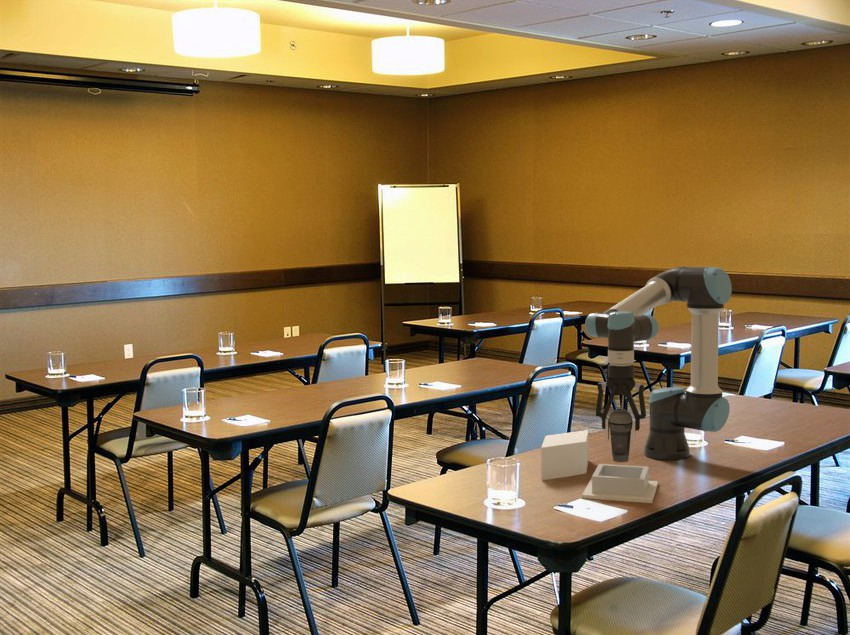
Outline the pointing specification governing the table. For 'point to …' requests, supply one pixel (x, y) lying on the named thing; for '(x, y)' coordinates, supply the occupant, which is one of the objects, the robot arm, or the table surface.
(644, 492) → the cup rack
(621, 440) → the beverage cup
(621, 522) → the table surface
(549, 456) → the block
